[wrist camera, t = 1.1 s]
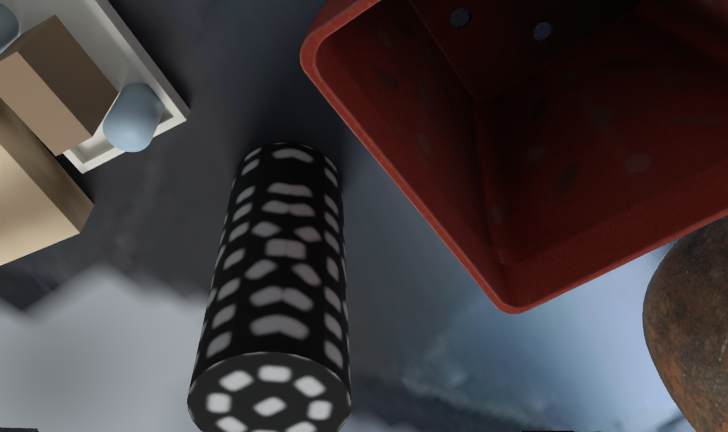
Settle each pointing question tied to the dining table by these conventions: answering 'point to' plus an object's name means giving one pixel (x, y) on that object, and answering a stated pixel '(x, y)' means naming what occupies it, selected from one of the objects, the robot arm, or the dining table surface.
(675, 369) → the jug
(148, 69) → the caddy tray
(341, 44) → the plant pot
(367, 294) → the dining table surface
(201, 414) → the white-spotted black cylinder
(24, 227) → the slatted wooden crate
